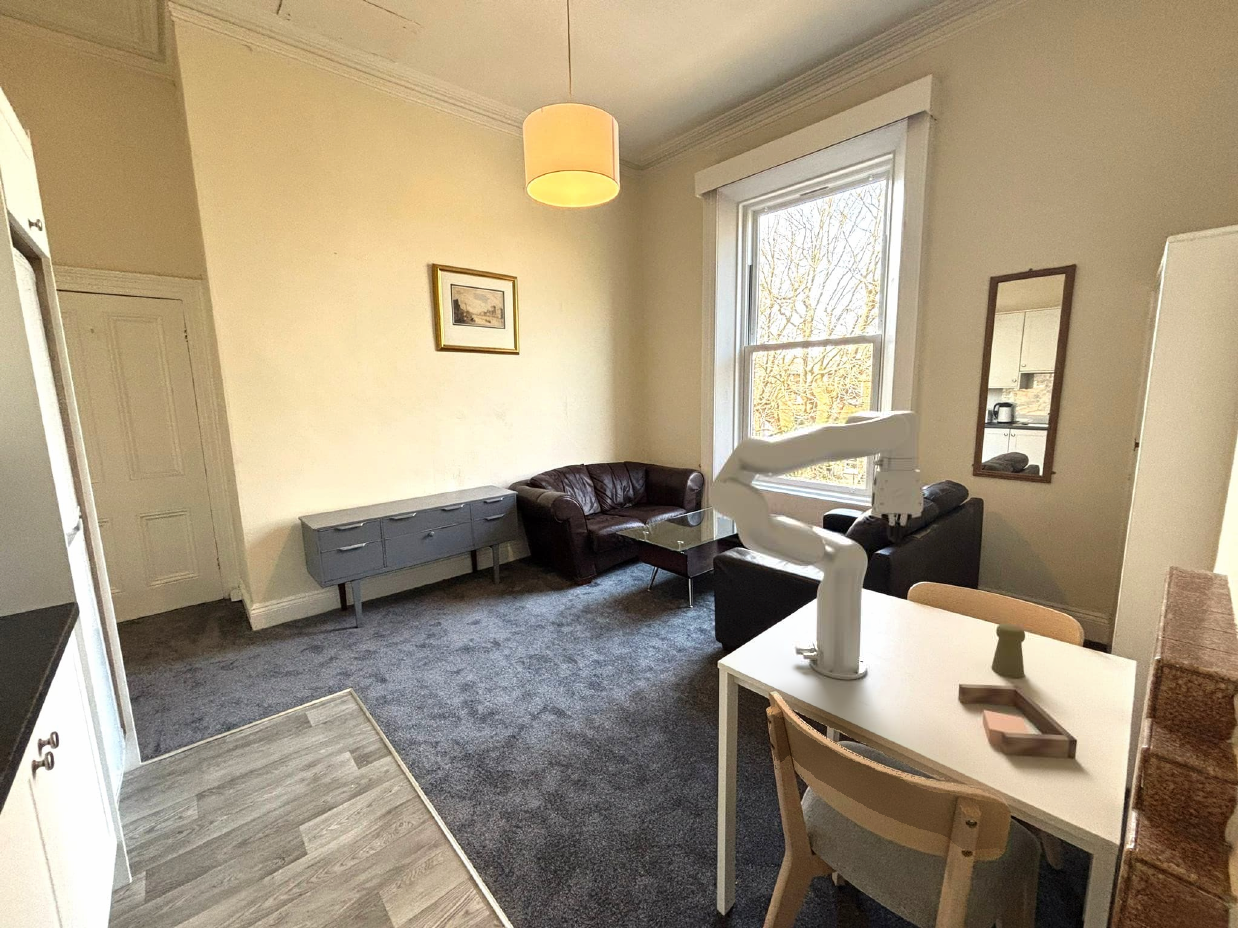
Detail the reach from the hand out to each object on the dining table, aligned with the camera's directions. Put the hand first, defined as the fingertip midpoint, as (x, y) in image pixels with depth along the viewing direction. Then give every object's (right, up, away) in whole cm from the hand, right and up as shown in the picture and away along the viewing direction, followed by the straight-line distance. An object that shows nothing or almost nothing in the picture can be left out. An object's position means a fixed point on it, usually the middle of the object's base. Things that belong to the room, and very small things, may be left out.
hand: (894, 540), depth 121 cm
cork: (+23, -29, -5) cm, 38 cm away
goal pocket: (+10, -32, -23) cm, 41 cm away
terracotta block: (+7, -33, -26) cm, 43 cm away
